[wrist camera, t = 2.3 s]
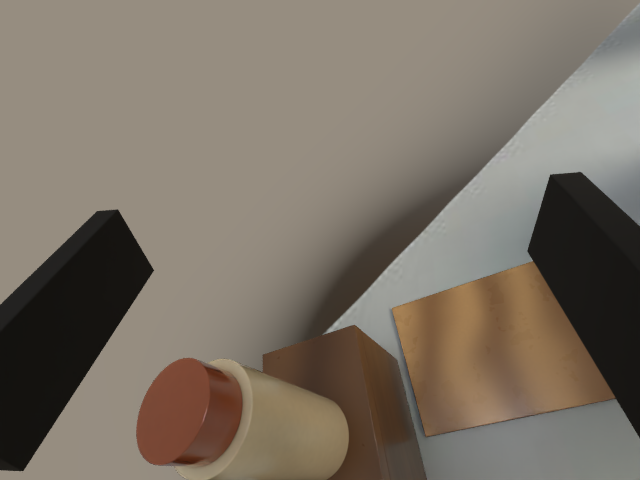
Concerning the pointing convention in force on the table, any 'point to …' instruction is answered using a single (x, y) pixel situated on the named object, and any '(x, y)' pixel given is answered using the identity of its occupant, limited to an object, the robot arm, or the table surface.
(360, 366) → the shelf
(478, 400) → the cork mat
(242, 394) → the spice bottle
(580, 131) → the table surface
